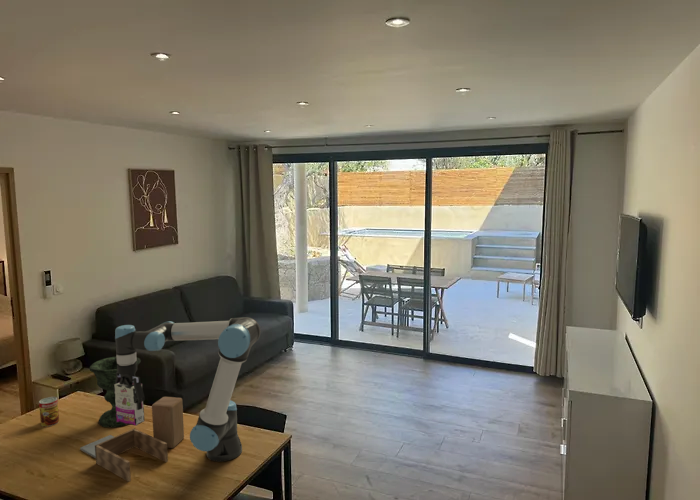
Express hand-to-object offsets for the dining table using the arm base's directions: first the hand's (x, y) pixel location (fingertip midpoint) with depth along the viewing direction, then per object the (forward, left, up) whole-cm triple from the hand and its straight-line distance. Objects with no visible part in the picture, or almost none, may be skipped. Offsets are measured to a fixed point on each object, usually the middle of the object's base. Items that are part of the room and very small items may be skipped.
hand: (130, 412), depth 203 cm
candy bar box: (0, 0, -4) cm, 4 cm away
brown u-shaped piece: (0, 0, -22) cm, 22 cm away
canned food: (+69, +2, -22) cm, 72 cm away
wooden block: (+2, -19, -22) cm, 29 cm away
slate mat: (+23, 0, -22) cm, 32 cm away
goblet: (+43, -19, -22) cm, 52 cm away
